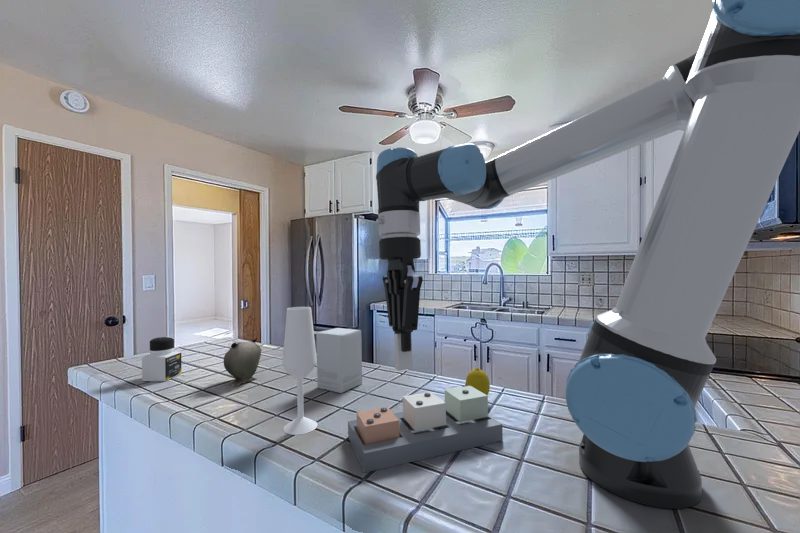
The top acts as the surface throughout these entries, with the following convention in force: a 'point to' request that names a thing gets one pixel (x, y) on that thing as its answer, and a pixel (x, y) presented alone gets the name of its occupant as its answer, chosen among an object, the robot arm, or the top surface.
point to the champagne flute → (299, 361)
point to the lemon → (478, 380)
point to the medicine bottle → (161, 360)
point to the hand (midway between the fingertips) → (403, 368)
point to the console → (424, 441)
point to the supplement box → (339, 359)
